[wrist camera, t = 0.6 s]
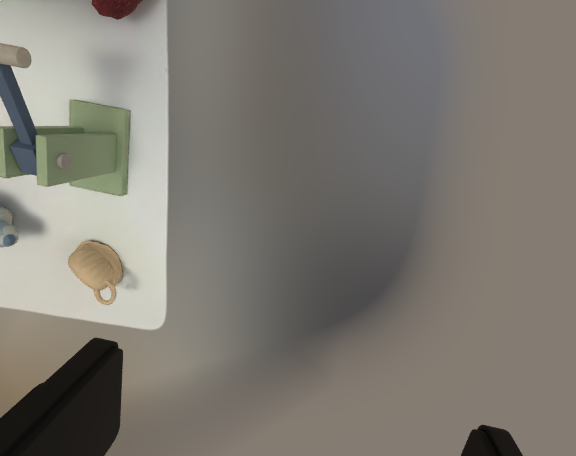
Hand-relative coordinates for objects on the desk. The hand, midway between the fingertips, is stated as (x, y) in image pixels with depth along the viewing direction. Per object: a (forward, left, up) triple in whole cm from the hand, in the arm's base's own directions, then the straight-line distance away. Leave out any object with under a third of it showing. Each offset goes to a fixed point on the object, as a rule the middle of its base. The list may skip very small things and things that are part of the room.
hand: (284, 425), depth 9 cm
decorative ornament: (+15, -26, -33) cm, 45 cm away
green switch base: (0, -27, -33) cm, 42 cm away
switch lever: (-4, -27, -22) cm, 35 cm away
